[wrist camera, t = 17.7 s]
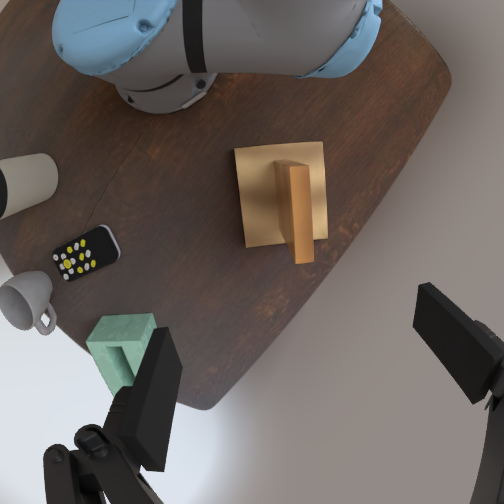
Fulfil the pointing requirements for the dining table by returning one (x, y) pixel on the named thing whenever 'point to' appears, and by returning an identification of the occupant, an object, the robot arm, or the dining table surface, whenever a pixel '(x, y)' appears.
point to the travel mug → (26, 182)
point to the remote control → (86, 253)
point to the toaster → (120, 347)
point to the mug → (28, 301)
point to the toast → (295, 208)
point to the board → (265, 194)
